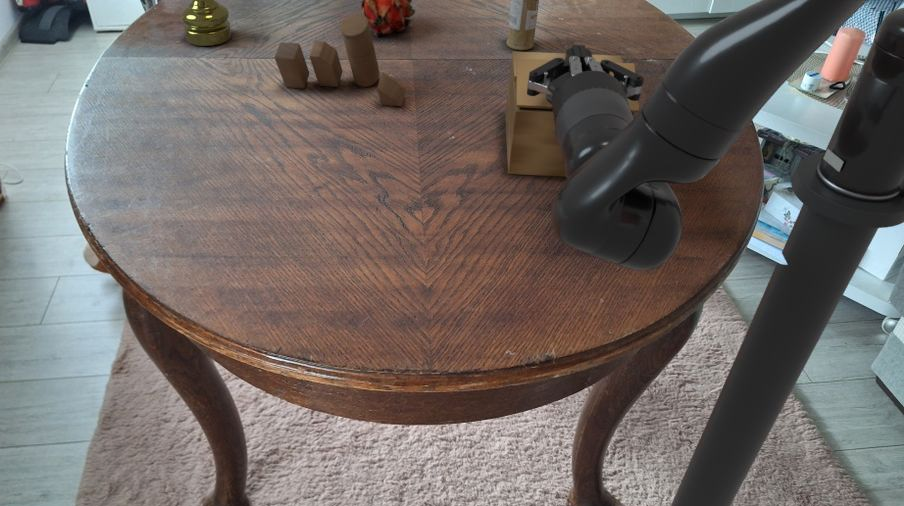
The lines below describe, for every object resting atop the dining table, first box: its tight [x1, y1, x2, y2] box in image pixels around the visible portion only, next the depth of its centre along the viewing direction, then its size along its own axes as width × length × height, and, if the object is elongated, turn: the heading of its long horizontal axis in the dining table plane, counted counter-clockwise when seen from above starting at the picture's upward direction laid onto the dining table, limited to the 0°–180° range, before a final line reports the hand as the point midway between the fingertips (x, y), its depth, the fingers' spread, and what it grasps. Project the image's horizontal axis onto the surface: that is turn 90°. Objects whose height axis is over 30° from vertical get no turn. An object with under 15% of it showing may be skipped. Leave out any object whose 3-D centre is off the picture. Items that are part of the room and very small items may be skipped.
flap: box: [516, 59, 640, 114], centre depth 86 cm, size 14×7×1 cm, turn 85°
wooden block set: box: [274, 12, 407, 107], centre depth 104 cm, size 18×9×10 cm, turn 76°
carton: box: [504, 50, 638, 178], centre depth 93 cm, size 14×15×9 cm
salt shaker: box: [180, 0, 232, 47], centre depth 118 cm, size 7×7×10 cm
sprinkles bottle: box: [506, 0, 540, 51], centre depth 116 cm, size 5×5×13 cm
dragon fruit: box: [360, 0, 416, 37], centre depth 122 cm, size 8×8×12 cm
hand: (576, 52), depth 87 cm, fingers closed
